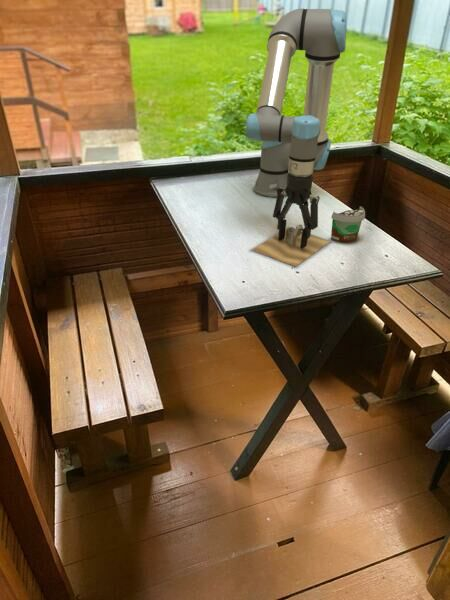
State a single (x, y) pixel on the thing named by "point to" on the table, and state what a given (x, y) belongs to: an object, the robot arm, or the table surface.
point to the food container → (346, 225)
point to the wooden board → (290, 249)
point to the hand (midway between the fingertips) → (292, 243)
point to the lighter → (293, 234)
